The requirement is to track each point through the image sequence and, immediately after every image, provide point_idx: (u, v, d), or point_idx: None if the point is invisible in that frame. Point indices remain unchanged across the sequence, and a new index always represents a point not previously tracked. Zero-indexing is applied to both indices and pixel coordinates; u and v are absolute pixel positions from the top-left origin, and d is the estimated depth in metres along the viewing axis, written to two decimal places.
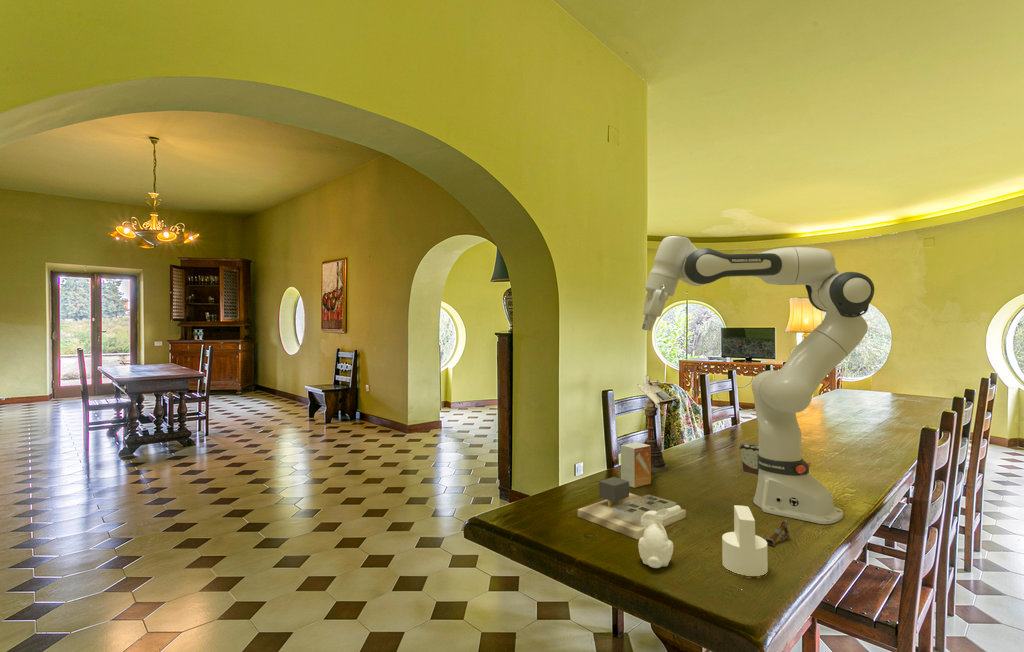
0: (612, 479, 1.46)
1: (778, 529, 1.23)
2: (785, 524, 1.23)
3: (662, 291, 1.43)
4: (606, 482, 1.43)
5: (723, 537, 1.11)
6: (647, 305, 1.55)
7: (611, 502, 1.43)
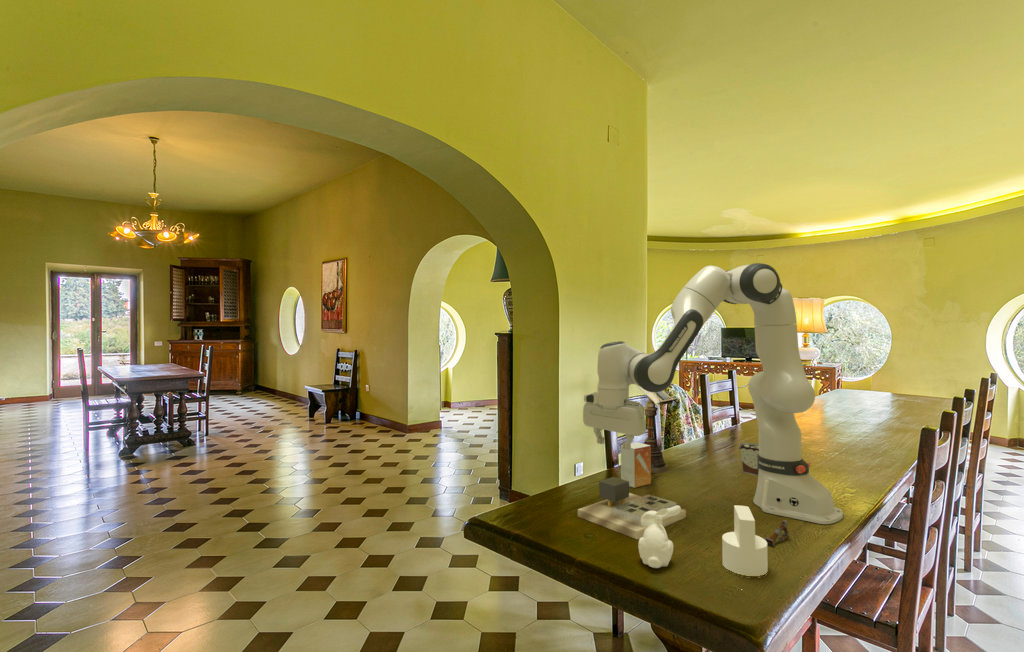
0: (612, 479, 1.46)
1: (778, 529, 1.23)
2: (785, 524, 1.23)
3: (643, 410, 1.36)
4: (606, 482, 1.43)
5: (723, 537, 1.11)
6: (605, 421, 1.44)
7: (611, 502, 1.43)
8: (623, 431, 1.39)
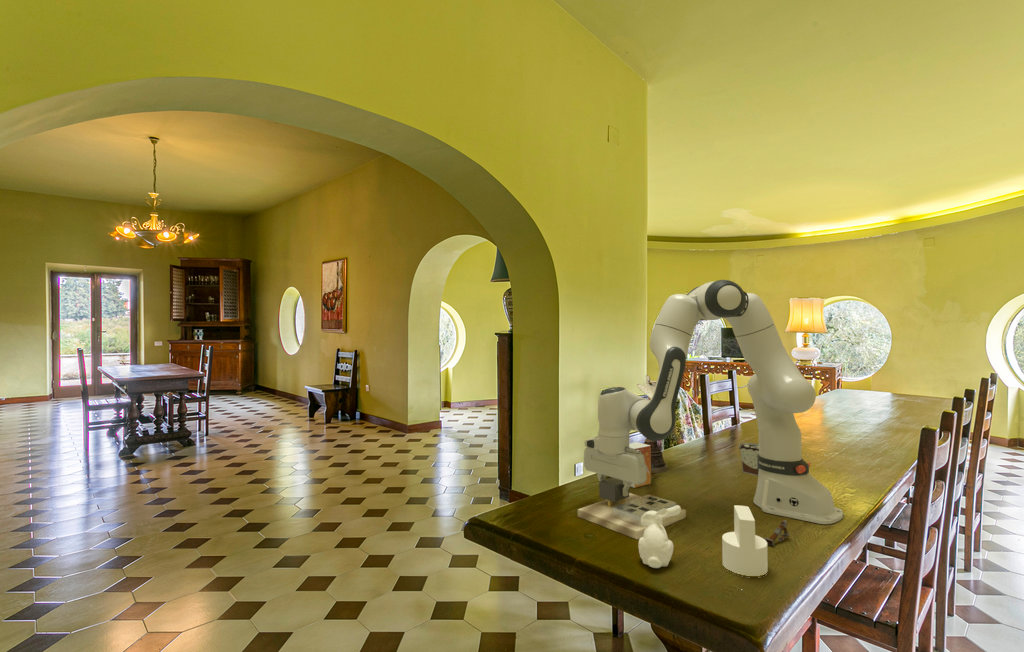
0: (612, 479, 1.46)
1: (777, 529, 1.23)
2: (784, 524, 1.23)
3: (643, 458, 1.36)
4: (606, 482, 1.43)
5: (723, 537, 1.11)
6: (606, 467, 1.44)
7: (611, 502, 1.43)
8: (624, 479, 1.39)
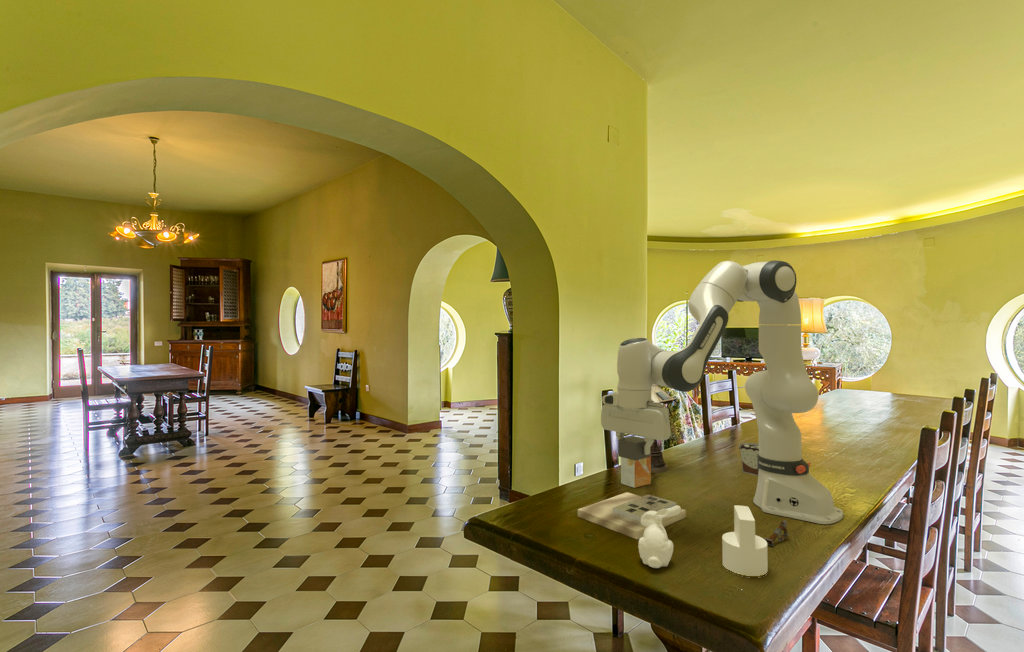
0: (631, 437, 1.35)
1: (777, 529, 1.23)
2: (784, 524, 1.23)
3: (668, 412, 1.25)
4: (626, 440, 1.32)
5: (723, 537, 1.11)
6: (626, 424, 1.33)
7: (631, 461, 1.32)
8: (646, 435, 1.28)
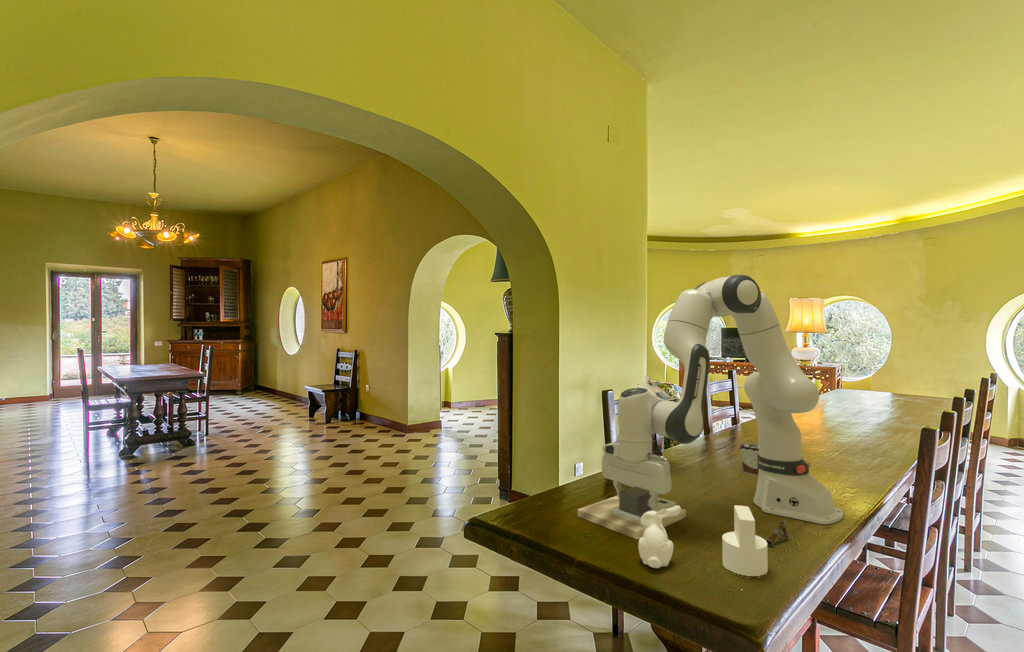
0: (632, 489, 1.35)
1: (777, 529, 1.22)
2: (784, 524, 1.23)
3: (668, 466, 1.25)
4: (627, 493, 1.32)
5: (723, 537, 1.11)
6: (627, 474, 1.33)
7: None
8: (647, 488, 1.28)
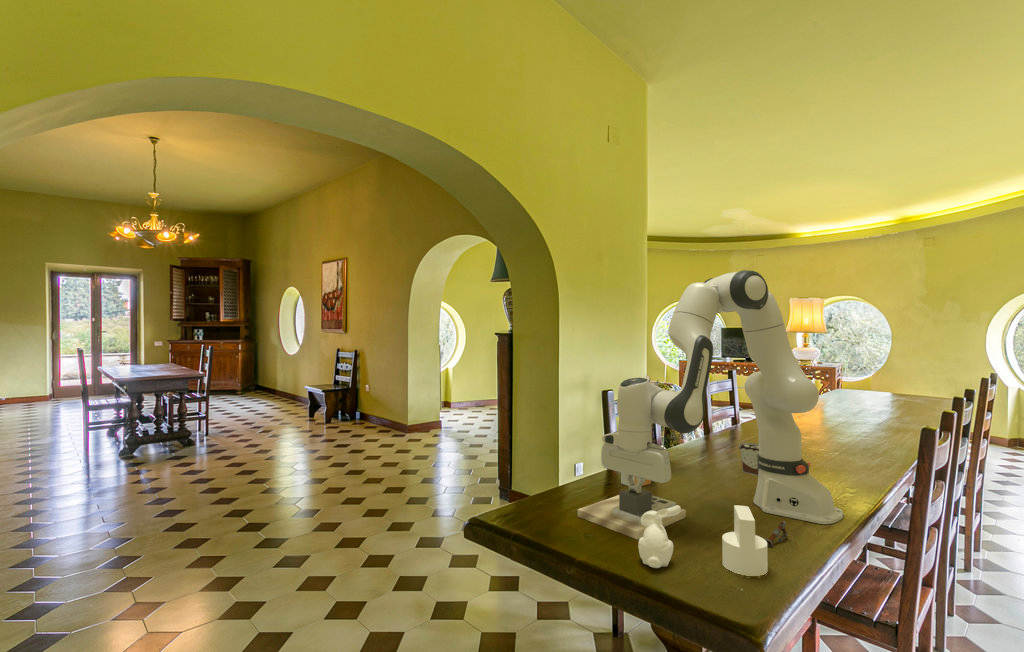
0: None
1: (776, 530, 1.22)
2: (783, 525, 1.23)
3: (668, 455, 1.25)
4: (627, 493, 1.32)
5: (723, 537, 1.11)
6: (626, 464, 1.33)
7: None
8: (646, 477, 1.28)
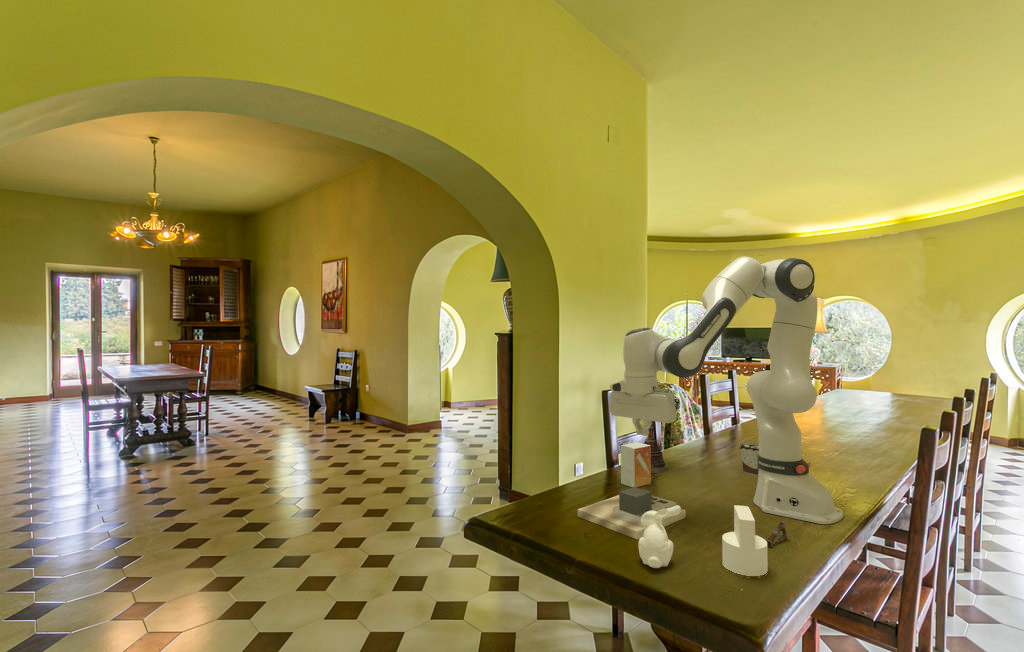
0: (632, 489, 1.35)
1: (776, 530, 1.22)
2: (783, 525, 1.23)
3: (673, 396, 1.34)
4: (627, 493, 1.32)
5: (723, 537, 1.11)
6: (634, 409, 1.41)
7: None
8: (653, 419, 1.36)
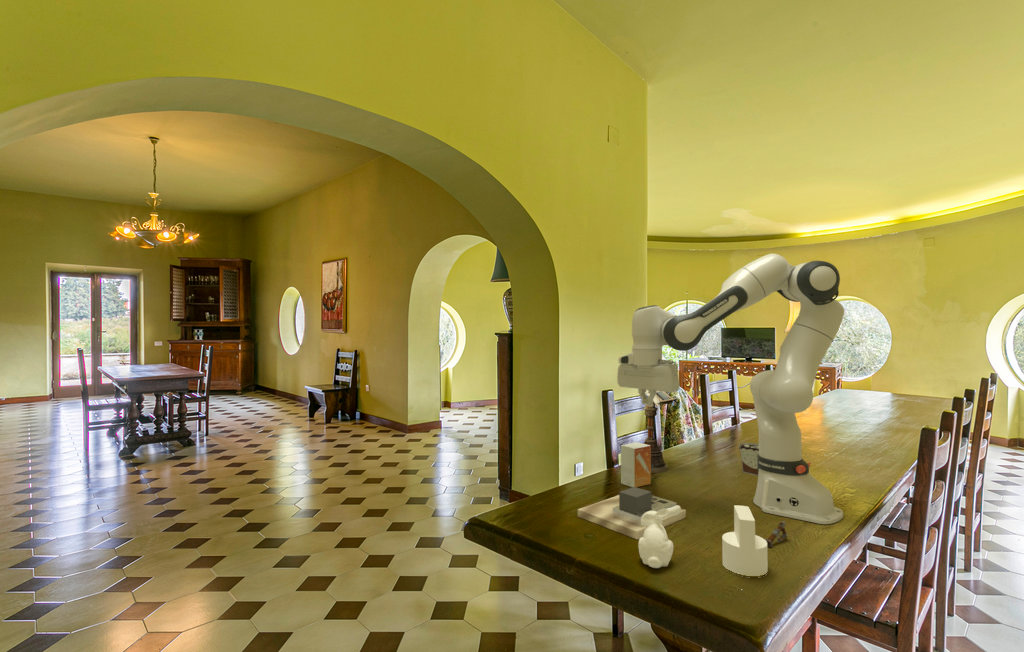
0: (632, 489, 1.35)
1: (776, 530, 1.22)
2: (783, 525, 1.23)
3: (677, 367, 1.45)
4: (627, 493, 1.32)
5: (723, 537, 1.11)
6: (640, 380, 1.52)
7: None
8: (658, 388, 1.48)
